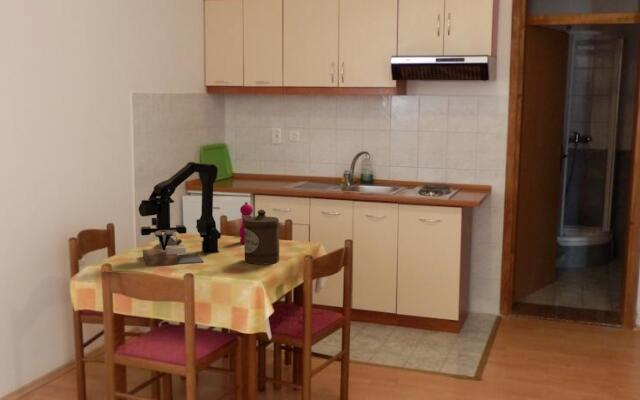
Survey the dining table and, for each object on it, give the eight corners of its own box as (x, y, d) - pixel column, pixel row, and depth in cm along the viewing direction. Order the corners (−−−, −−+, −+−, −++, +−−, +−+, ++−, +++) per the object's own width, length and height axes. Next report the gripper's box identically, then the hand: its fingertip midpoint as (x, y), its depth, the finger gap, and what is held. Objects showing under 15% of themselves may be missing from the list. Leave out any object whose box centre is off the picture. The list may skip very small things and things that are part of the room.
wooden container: (240, 258, 319) (239, 208, 316) (272, 255, 325) (272, 206, 322) (250, 265, 305) (250, 213, 302) (284, 262, 311) (284, 211, 308)
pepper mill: (251, 244, 348) (251, 202, 345) (237, 243, 350) (236, 202, 347) (256, 241, 355) (255, 200, 352) (241, 240, 357) (241, 200, 354)
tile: (184, 250, 319) (183, 245, 319) (185, 253, 313) (185, 247, 313) (165, 251, 316) (165, 246, 316) (166, 254, 311) (166, 248, 310)
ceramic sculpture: (154, 231, 332) (160, 227, 347) (154, 250, 333) (160, 245, 348) (178, 231, 332) (183, 227, 347) (178, 250, 333) (183, 245, 348)
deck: (173, 255, 324) (173, 248, 324) (178, 264, 307) (178, 257, 307) (143, 256, 320) (142, 250, 319) (146, 266, 303) (146, 258, 303)
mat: (197, 254, 325) (197, 253, 325) (203, 262, 310) (203, 261, 310) (174, 255, 322) (174, 255, 322) (179, 264, 307) (179, 263, 307)
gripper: (182, 210, 322) (183, 245, 324) (139, 211, 316) (140, 247, 318) (186, 214, 311) (186, 250, 313) (141, 216, 305) (142, 252, 308)
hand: (163, 250), depth 313 cm, fingers closed
